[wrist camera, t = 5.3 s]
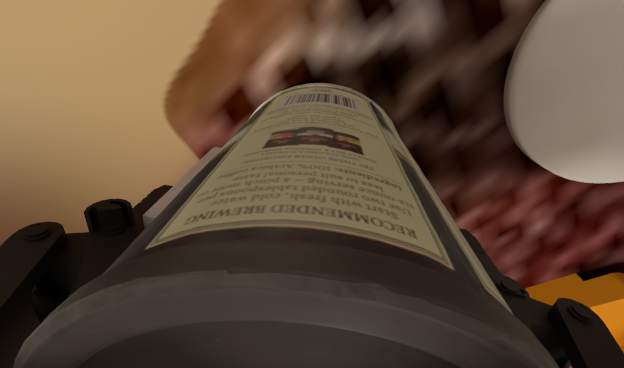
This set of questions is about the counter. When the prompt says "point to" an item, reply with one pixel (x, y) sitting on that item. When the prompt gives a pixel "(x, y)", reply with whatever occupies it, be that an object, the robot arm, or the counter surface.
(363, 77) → the counter surface
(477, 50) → the counter surface
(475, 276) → the coffee can
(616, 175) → the plate
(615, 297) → the bracket
